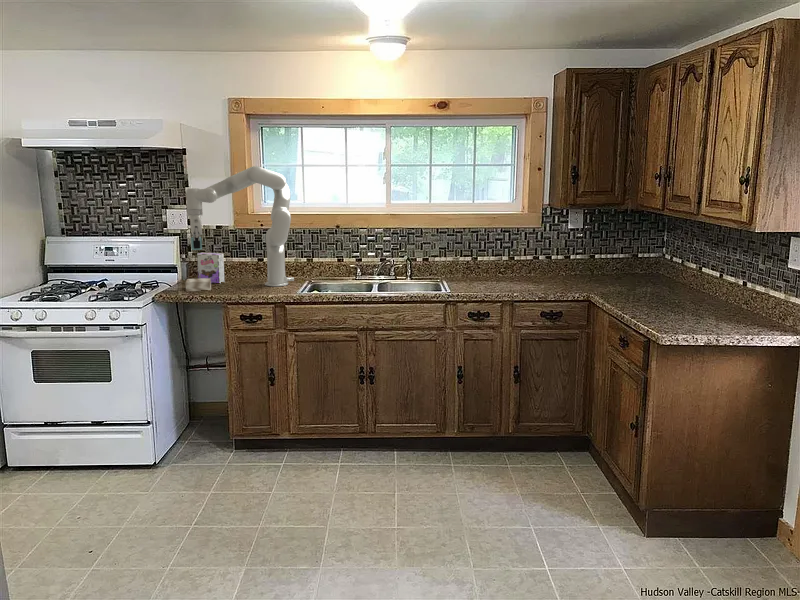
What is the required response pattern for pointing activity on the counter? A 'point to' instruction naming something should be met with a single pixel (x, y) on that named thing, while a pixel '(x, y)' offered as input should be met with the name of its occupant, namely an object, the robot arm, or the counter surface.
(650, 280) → the counter surface
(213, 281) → the candy box
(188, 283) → the birch block
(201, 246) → the teal block
